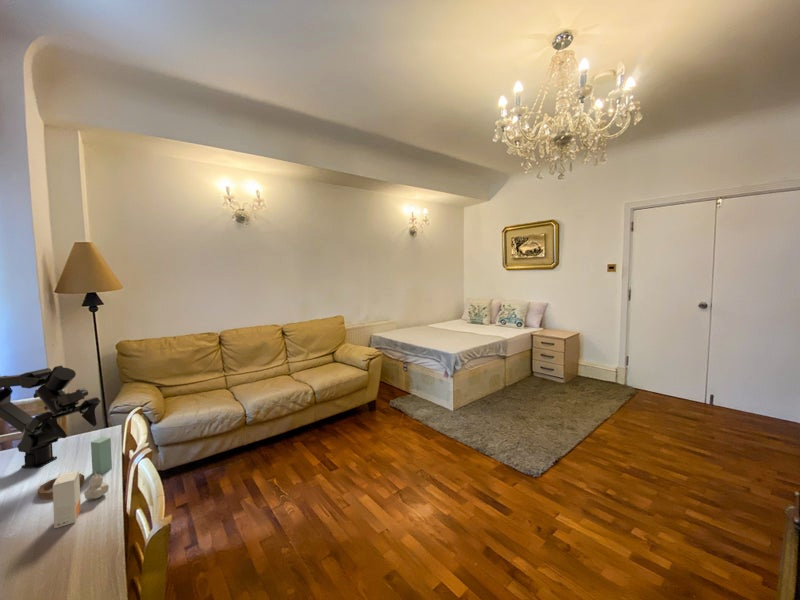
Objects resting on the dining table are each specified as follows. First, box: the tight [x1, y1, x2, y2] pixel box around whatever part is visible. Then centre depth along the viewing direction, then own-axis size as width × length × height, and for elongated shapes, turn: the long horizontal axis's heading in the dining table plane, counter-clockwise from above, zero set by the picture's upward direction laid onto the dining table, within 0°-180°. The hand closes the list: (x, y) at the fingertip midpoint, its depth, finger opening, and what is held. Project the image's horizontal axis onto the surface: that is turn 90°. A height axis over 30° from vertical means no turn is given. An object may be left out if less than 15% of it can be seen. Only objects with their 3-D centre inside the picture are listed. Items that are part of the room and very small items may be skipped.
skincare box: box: [52, 470, 82, 529], centre depth 90 cm, size 6×4×12 cm
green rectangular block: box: [90, 436, 113, 475], centre depth 114 cm, size 4×4×11 cm
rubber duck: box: [83, 472, 109, 500], centre depth 99 cm, size 5×7×8 cm
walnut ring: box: [36, 473, 85, 500], centre depth 104 cm, size 10×10×2 cm
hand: (81, 431), depth 115 cm, fingers open, 9 cm apart
